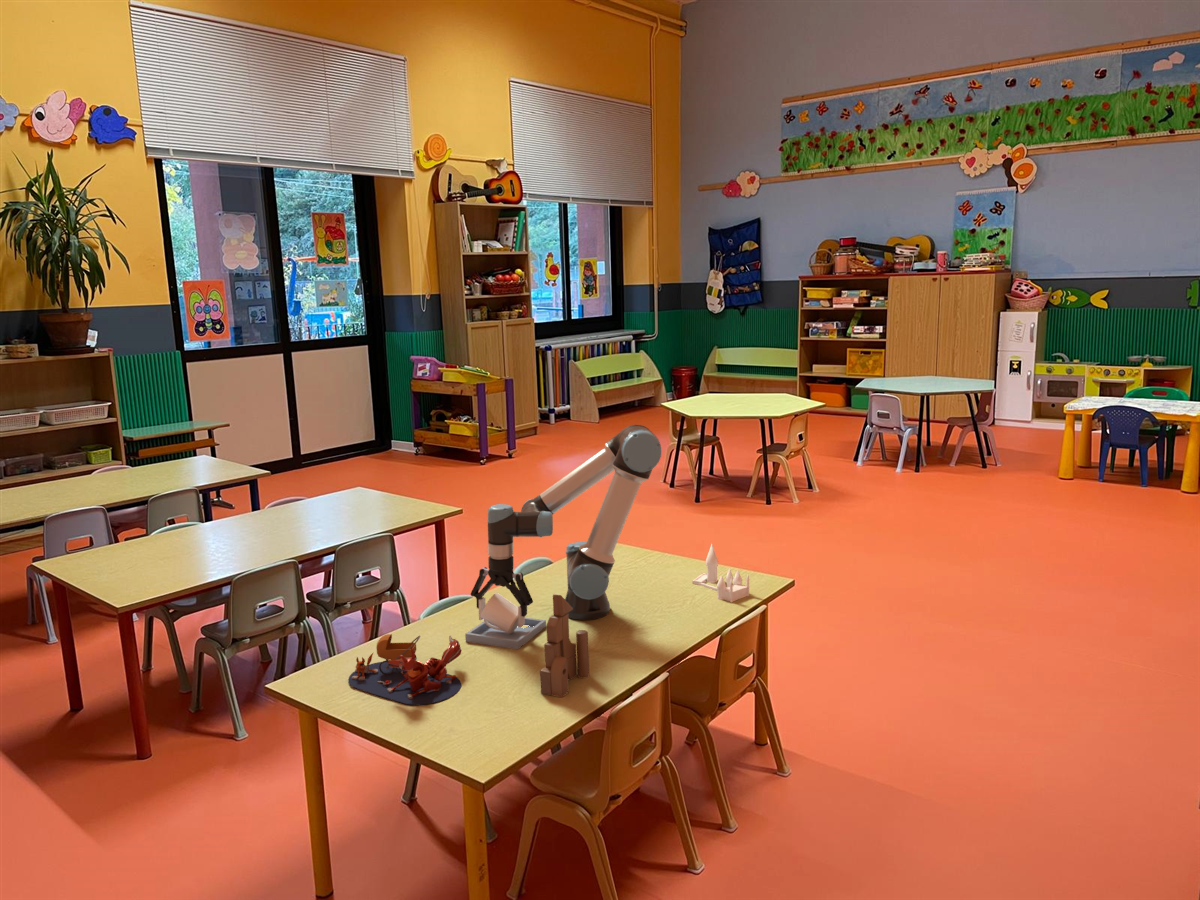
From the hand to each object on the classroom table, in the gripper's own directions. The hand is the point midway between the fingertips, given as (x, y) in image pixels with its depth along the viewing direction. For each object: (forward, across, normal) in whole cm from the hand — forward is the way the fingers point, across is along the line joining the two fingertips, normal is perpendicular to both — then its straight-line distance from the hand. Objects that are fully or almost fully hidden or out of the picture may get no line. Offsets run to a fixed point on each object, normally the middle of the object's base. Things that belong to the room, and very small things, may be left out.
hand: (501, 622), depth 271 cm
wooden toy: (+3, -34, +24) cm, 42 cm away
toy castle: (+2, -51, -57) cm, 77 cm away
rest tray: (+4, -1, 0) cm, 4 cm away
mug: (+1, -4, -1) cm, 5 cm away
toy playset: (+5, +8, +34) cm, 35 cm away
